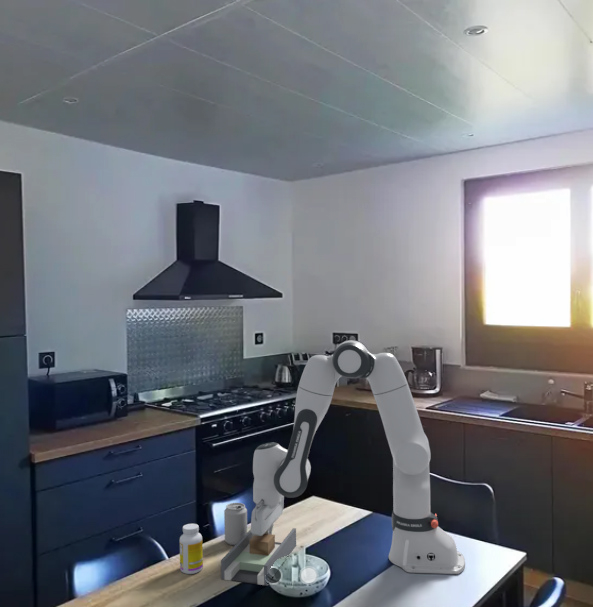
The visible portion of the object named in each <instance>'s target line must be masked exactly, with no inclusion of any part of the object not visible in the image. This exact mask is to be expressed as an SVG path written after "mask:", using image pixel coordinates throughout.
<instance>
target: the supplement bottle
mask: <svg viewBox="0 0 593 607" xmlns="http://www.w3.org/2000/svg"><path fill="white" fill-rule="evenodd" d="M199 530H200V527H199V525H198V524H197V523H187V524H184V525H183V526H182V532H183V534H181V535H180V537H179V567H180V568H179V569H180V572H182V573H183V574H187V575H193V574H197V573H199V572H201V571H202V570H203V567H204V564H203V563H204V559H203V558H204V557H203V556H204V554H203V553H204V552H203V551H204V550H203V536H202V534H201V533H200V532H199Z"/></svg>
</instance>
